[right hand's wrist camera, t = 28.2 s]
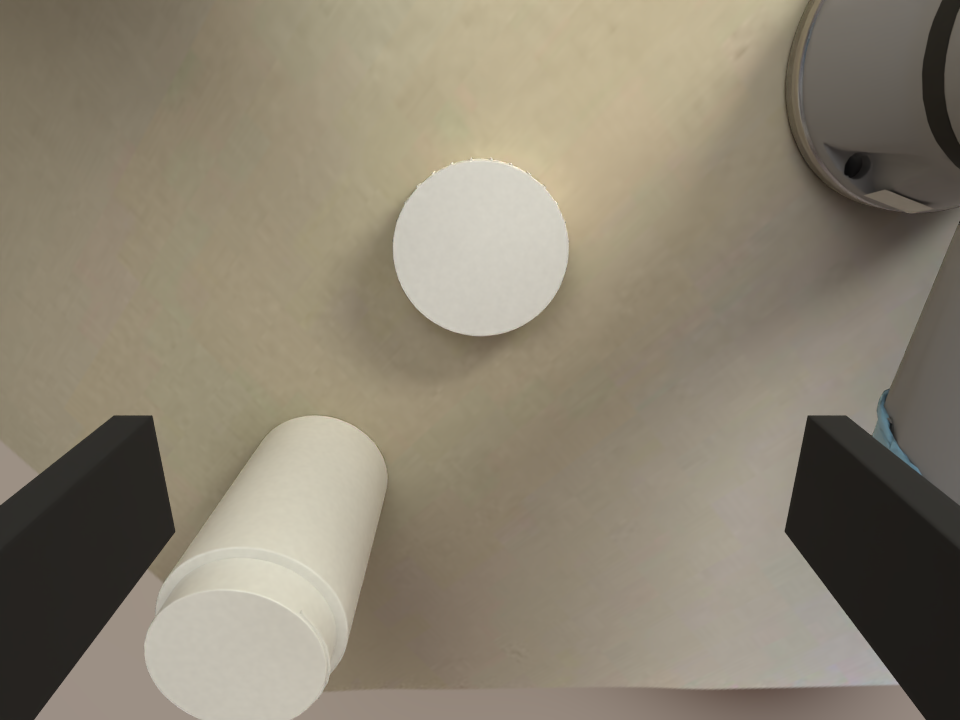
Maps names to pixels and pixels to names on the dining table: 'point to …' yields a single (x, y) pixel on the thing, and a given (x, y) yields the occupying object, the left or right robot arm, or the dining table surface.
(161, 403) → the dining table surface
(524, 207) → the lid
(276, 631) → the jar
